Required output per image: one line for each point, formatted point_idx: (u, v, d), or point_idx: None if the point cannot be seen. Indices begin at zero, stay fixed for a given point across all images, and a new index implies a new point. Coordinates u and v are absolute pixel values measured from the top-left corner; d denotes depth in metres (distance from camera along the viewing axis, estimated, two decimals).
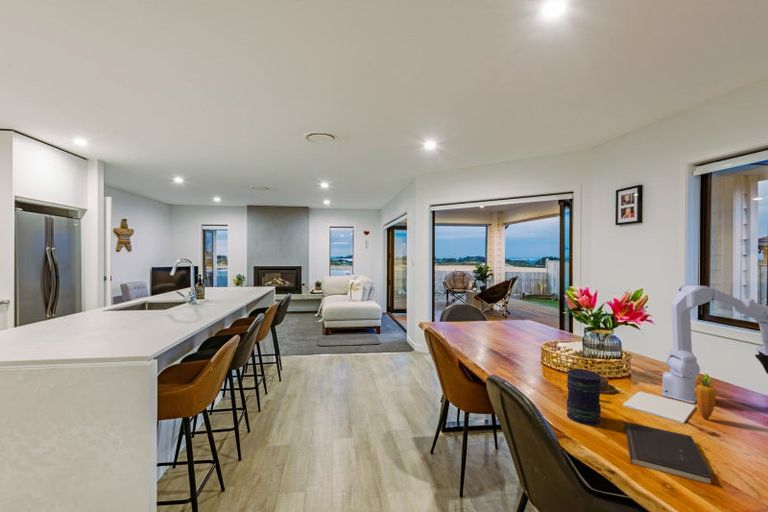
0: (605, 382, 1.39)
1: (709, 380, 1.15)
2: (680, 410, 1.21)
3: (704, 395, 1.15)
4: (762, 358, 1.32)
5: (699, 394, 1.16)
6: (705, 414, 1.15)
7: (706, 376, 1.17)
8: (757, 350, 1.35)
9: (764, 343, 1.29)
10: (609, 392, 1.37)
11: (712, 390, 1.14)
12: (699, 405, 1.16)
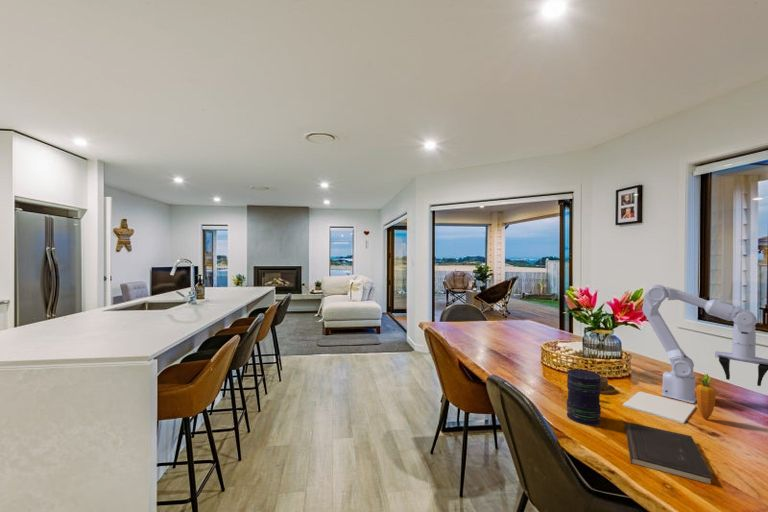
0: (604, 382, 1.39)
1: (709, 380, 1.15)
2: (680, 410, 1.21)
3: (704, 395, 1.15)
4: (728, 363, 1.25)
5: (699, 394, 1.16)
6: (705, 414, 1.15)
7: (706, 376, 1.17)
8: (717, 355, 1.27)
9: (741, 347, 1.21)
10: (608, 392, 1.37)
11: (712, 390, 1.14)
12: (699, 405, 1.16)
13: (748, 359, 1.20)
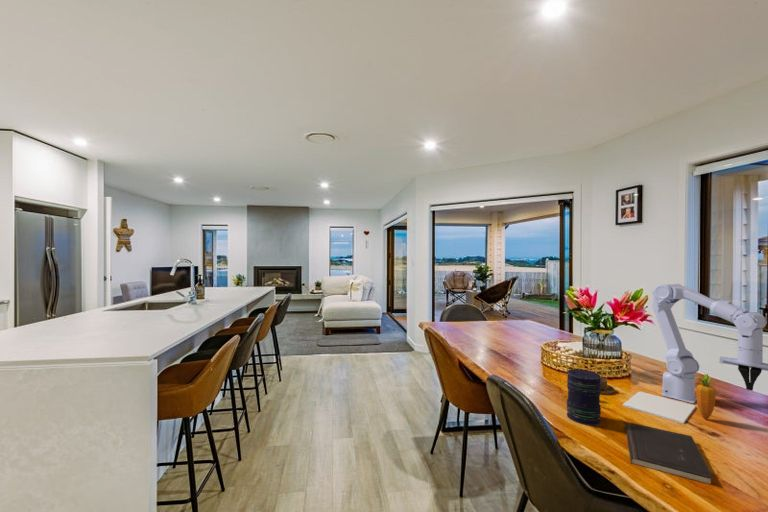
0: (603, 383, 1.39)
1: (709, 380, 1.15)
2: (680, 410, 1.21)
3: (704, 395, 1.15)
4: (748, 372, 1.15)
5: (699, 394, 1.16)
6: (705, 414, 1.15)
7: (706, 376, 1.17)
8: (722, 360, 1.20)
9: (748, 352, 1.14)
10: (607, 393, 1.36)
11: (712, 390, 1.14)
12: (699, 405, 1.16)
13: (755, 365, 1.13)
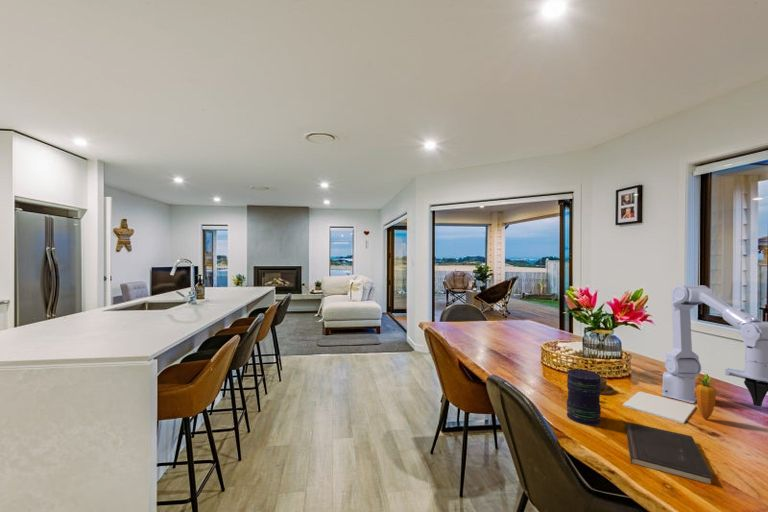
0: (603, 383, 1.38)
1: (709, 380, 1.15)
2: (680, 410, 1.21)
3: (704, 395, 1.15)
4: (755, 386, 1.06)
5: (699, 394, 1.16)
6: (705, 414, 1.15)
7: (706, 376, 1.17)
8: (728, 372, 1.12)
9: (754, 365, 1.06)
10: (606, 393, 1.36)
11: (712, 390, 1.14)
12: (699, 405, 1.16)
13: (762, 379, 1.04)
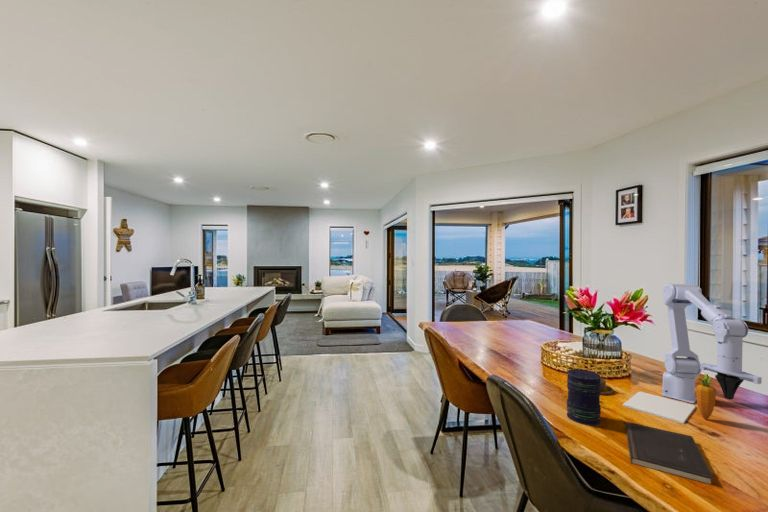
0: (602, 383, 1.38)
1: (709, 380, 1.15)
2: (680, 410, 1.21)
3: (704, 395, 1.15)
4: (725, 380, 1.11)
5: (699, 394, 1.16)
6: (705, 414, 1.15)
7: (706, 376, 1.17)
8: (703, 367, 1.18)
9: (723, 359, 1.11)
10: (605, 393, 1.36)
11: (712, 390, 1.14)
12: (699, 405, 1.16)
13: (729, 373, 1.10)
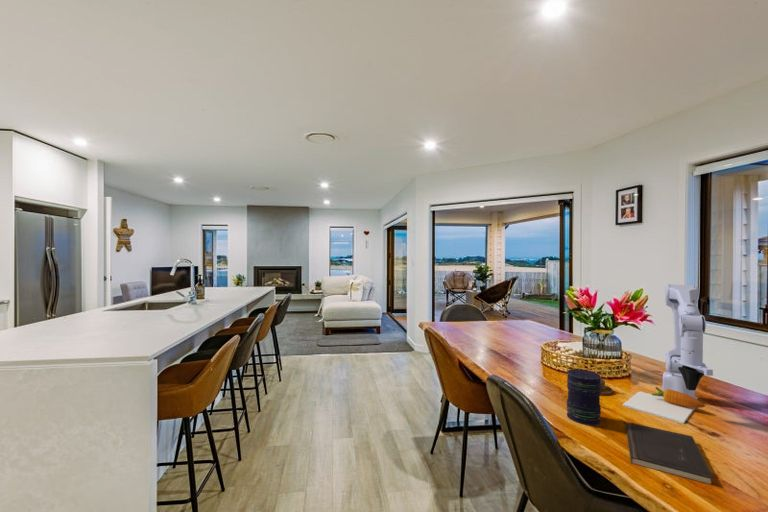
0: None
1: None
2: (680, 410, 1.21)
3: None
4: None
5: (674, 390, 1.27)
6: None
7: None
8: (673, 359, 1.26)
9: (682, 352, 1.19)
10: (603, 393, 1.35)
11: None
12: (688, 395, 1.24)
13: (686, 364, 1.18)
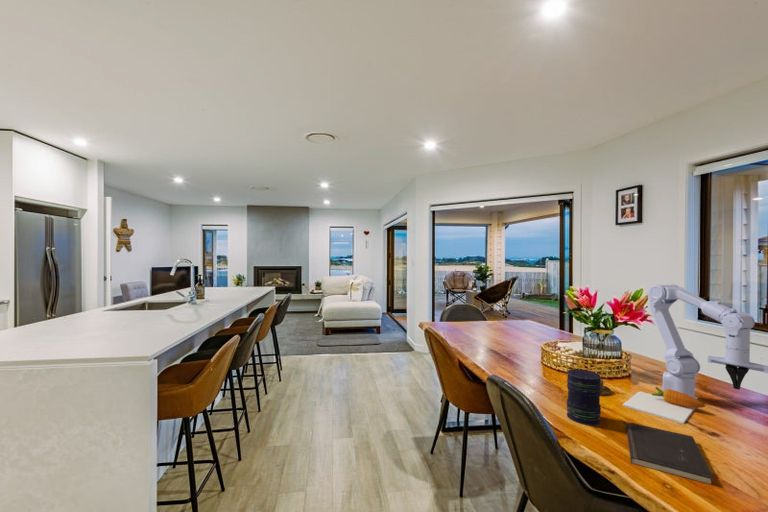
0: None
1: None
2: (680, 410, 1.21)
3: None
4: (735, 371, 1.16)
5: (674, 390, 1.27)
6: None
7: None
8: (710, 359, 1.22)
9: (735, 352, 1.16)
10: (601, 394, 1.35)
11: None
12: (688, 395, 1.24)
13: (742, 364, 1.14)
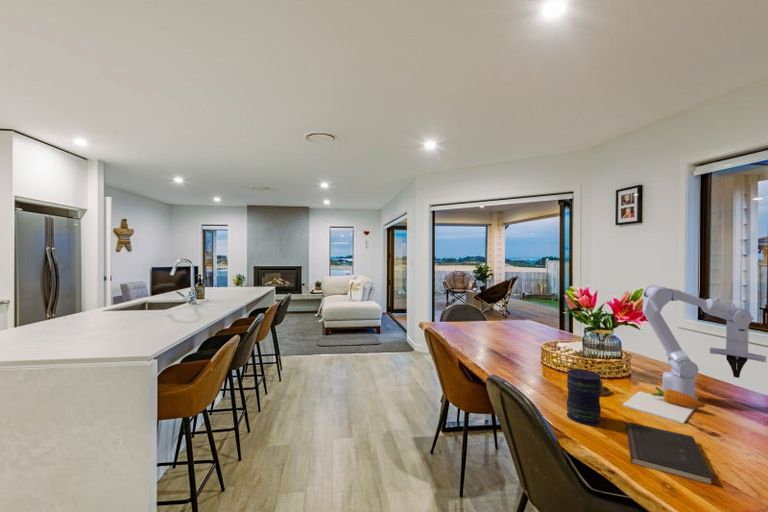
0: None
1: None
2: (680, 410, 1.21)
3: None
4: (735, 361, 1.27)
5: (674, 390, 1.27)
6: None
7: None
8: (712, 351, 1.32)
9: (735, 343, 1.26)
10: (600, 394, 1.35)
11: None
12: (688, 395, 1.24)
13: (741, 355, 1.25)
